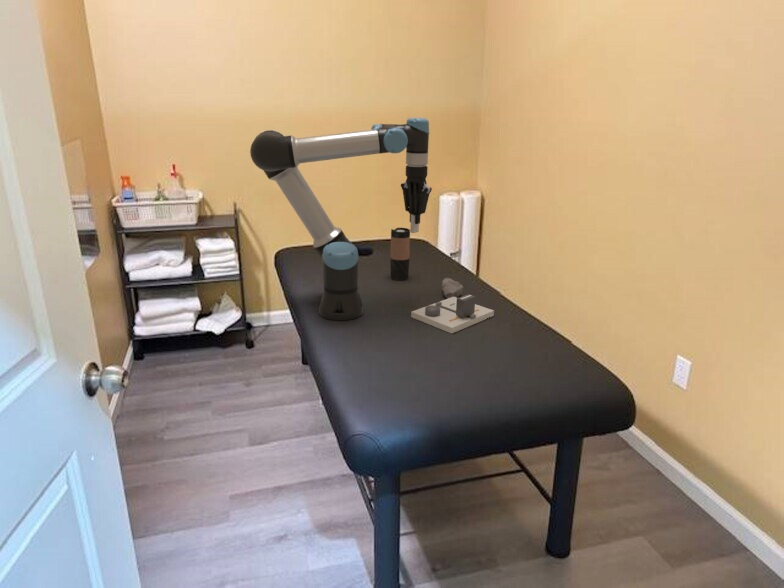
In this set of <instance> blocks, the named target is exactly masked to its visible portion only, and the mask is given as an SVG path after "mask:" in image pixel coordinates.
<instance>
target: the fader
mask: <svg viewBox="0 0 784 588" xmlns="http://www.w3.org/2000/svg"><path fill="white" fill-rule="evenodd" d="M456 298H457V304H456V315H457V316H459V317H462V318H464V317H466V316H469V315H471V314H474V310H475V304H476V296H474V295H472V294H469V293H468V294H465V295H463V296H458V297H456Z"/></svg>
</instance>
